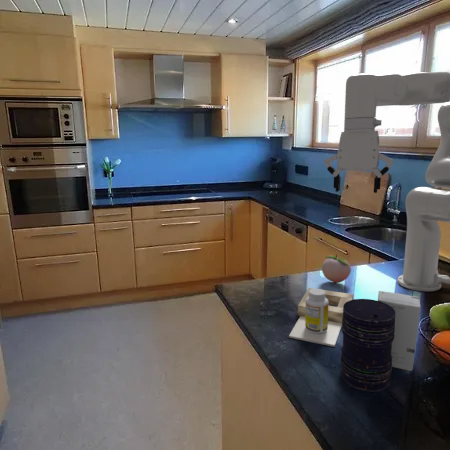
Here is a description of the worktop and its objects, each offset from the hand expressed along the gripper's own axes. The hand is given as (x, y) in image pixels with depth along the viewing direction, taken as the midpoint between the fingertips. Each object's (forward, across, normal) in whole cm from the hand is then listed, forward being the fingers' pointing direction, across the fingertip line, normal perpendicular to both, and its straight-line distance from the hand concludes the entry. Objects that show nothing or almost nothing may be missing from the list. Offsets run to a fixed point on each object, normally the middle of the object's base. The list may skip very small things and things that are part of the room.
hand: (356, 191), depth 100 cm
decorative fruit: (+34, +7, -15) cm, 37 cm away
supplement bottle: (+33, +6, +18) cm, 38 cm away
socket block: (+33, +6, +5) cm, 34 cm away
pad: (+33, +6, +18) cm, 38 cm away
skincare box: (+34, -12, +24) cm, 43 cm away
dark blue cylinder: (+34, -7, +32) cm, 47 cm away
